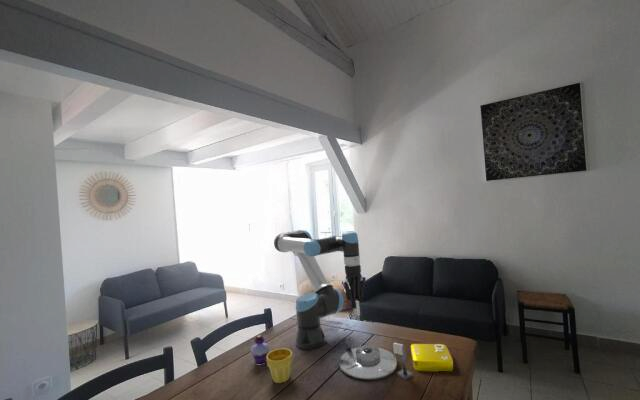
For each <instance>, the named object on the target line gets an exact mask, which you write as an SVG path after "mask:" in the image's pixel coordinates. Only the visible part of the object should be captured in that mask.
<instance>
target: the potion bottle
mask: <svg viewBox="0 0 640 400" xmlns="http://www.w3.org/2000/svg"><path fill="white" fill-rule="evenodd" d="M254 343H255V344H253V345H252V346H251V348H249V349H250V353H251V356H252V357H253V360H254V364H255V363H256V364H263V363H265V362H266V361H267V358H266V357H267V355H268V353H269V352H270V344H268V342H265V337H263V334H257V335H256V336H255V338H254ZM256 364H255V365H256Z"/></svg>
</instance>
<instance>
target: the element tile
mask: <svg viewBox="0 0 640 400" xmlns="http://www.w3.org/2000/svg"><path fill="white" fill-rule="evenodd" d="M410 355H411V360H412V365H413V370H415V371H418V372H438V371H451V372H453V371H454V370H453V369H454V359H453V357H452V355H451V353H450V351H449V348H448V347H447V345H445V344H444V343H412V344H411V345H410ZM452 370H453V371H452Z"/></svg>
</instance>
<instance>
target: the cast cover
mask: <svg viewBox="0 0 640 400" xmlns="http://www.w3.org/2000/svg"><path fill="white" fill-rule="evenodd" d="M356 348H357V349H356V359H357V363H358V364H359V365H361V366H365V367H372V366H376V365H378V364H379V363H380V361H381V360H380V350H379V348H380V347H377V346H376V345H369V344H367V345H366V344H365V345H361V346H359V347H356Z"/></svg>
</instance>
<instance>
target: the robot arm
mask: <svg viewBox="0 0 640 400" xmlns="http://www.w3.org/2000/svg"><path fill="white" fill-rule="evenodd" d="M273 241H274V242H273V245H274V246H273V247H274V249H275V250H276V251H278V252H281V253H289V252H292V253H293V255H294V256H296V257H298V260H299V262H300V264H301V266H302V268H303V271H304V272H305V274H306V276H307V279H308V281H309V282H310V285H311V287H312V289H313V292H310V293H304V294H301V295H300V296H299V297H297V298H296V301H295V310H296V320H297V321H296V322H297V332H296V335H295V347H296V348H298V347H299V349H301V350H314V349H318V348H320V347H322V346H323V345H325V343H326V335H325V333H324V331H323V329H322V326H321V325H322V324H321V319H322V318H325V317H328V316H331V315H334V314H336V313H338V312H341V311H342V309H343V306H344V297H343V293H342V292H341V290H339V289H338V288H336V289H335V288H334V287H333V286H334V285H332V284H330V283H328V282H329V281H327V278H326V277H325V274H324V273H323V271H322V268H321V267H320V265H319V263H318V261H317V259H316V257H317V256H320V255H326V254H331V253H336V252H342V254H343V263H344V264H343V265H344V272H345V279H344V281H342V282H341V285H342V286H343V288H344V291H345V295H346V298H347V301H349V302H351V307H352V308H353V314H354V316H355V315H356V316H357V317H358V316H361V312H360V311H361V301H362V299H363V298H364V294H365V293H364V292H365V291H364V290H365V282H366V280H367V278H366V277H365V276H362V268H361V267H362V266H361V265H360V264H361V259H360V256H361V255H360V248H359V246H360V245H359V237H358V233H357V232H355V231H347V232H342V234H341V235H340V236H339V235H331V236H328V237H324V238H317V239H316V238H315V239H314V238H312V236H311V234H310V233H309V232H308V231H307V230H304V229H302V230H301V229H300V230H299V229H298V230H295V231H294V230H293V231H286V232H285V231H284V232H281V233H279V234H278V235H277V236H275V239H274V240H273Z"/></svg>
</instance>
